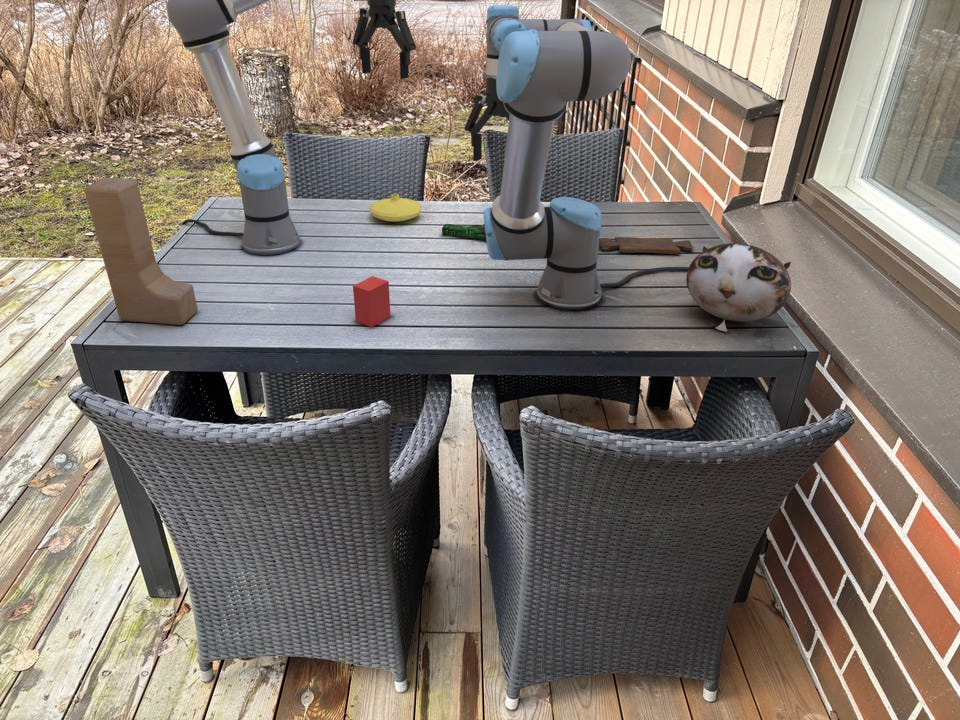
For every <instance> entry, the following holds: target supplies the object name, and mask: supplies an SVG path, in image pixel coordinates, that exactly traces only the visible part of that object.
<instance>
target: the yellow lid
mask: <svg viewBox="0 0 960 720" xmlns="http://www.w3.org/2000/svg"><path fill="white" fill-rule="evenodd" d="M399 196H400V195H399V194H398V193H392V194H391V195H390V197H389V198H383V199H379V200H376V201H374V202H373V203H372V204H371V205H370V206H369V212H370V214H371V216H373V217H374V218H375V219H376V218H377V219H379V220H381V221H384V222H392V223H394V222H395V223H396V222H397V223H399V222H405V221H409V220H411V219H413V218H416V217H417V216H419V215H420V214H421V212H422V205H421V204H420V203H419V202H418V201H416V200H414V199H411V198H405V197H399Z"/></svg>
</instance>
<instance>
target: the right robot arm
mask: <svg viewBox="0 0 960 720" xmlns="http://www.w3.org/2000/svg"><path fill="white" fill-rule="evenodd" d="M485 23H486V53H485V54H486V55H485V75H486V78H485V93H486V95H485V94H484V93H480V94H479V93H478V94H476V95H475V97H474V104H473V107H472V109H471V111H470V114H469V116H468V118H467V121H466V123H465V124H464V125H465V126H464V131H465V132H469V134H470V145H471V147H472V148H473V149H472V150H473V151H472V154H473V155H472V160H473V162H478V161H481V160H482V157H483V155H482V154H483V153H482V152H483V133H481V130H482V129H483V128H484V127H485V126H486V124H487V123H488V121H489V120H490V119H491V118H492V117H499V118H505V119H506V120H507V121H508V127H507V134H506V144H505V152H504V161H503V169H502V178H501V186H500V193H499V195H497V196H496V197H495V198H494V200H493V202H492V205H491V206H490V207H487V208H484V210H483V222H484V223H483V225H484V224H485V233H486V241H485V242H486V247H487V248H486V249H487V253H488V256H489V258H490V259H492V260H495V261H520V260H521V261H522V260H544V259H546V266H545V268H544V270H543V273H542V275H541V276H540V277H541V278H540V280H539V282H538V285H537V290H536V297H537V299H538V300H539V301H540V302H541V303H542V304H543V305H545V306H548V307H550V308H553V309H558V310H562V311H583V310H588V309H591V308H595V307H596V306H597V305H599V304H600V302H601V301H602V300H601V299H602V289H603V288H616V287H620V286H622V285H624V284H625V283H627V282H628V281H629V280H630V279H632V278H635V277H636V276H641V275H645V274H649V273H657V272H666V271H667V272H669V271H670V272H671V271H683V272H685V271H688V268H689V266H661V267H653V268H646V269H641V270H638V271H635V272H632V273H630V274H628V275H627V276H625V277H624V278H623V279H622V280H620V281H617V282H611V283H609V282H606V283H600V279H599V274H598V270H597V267H598V266H597V264H598V254H599V248H600V244H599V239H601V238H600V236H601V231H602V212H601V210H600V208H599V207H597V206H596V205H595V204H594V203H591V202H589V201H586V200H583V199H580V198H576V197H570V196H569V197H567V196H559V197H555V198H553V199H551V200H550V203H549V206H544V203H543V202H542V200H541V197H542V192H543V186H544V181H545V176H546V170H547V164H548V159H549V153H550V147H551V141H552V136H553V130H554V125H555V121H556V120H558V119H559V118H560V117H562V116H563V115H564V113H565V110H566V106H567V102H590V101H596V100H599V99H602V98H604V97H607V96H608V95H611V94H612V93H614V92H615V91H616V90H617V89H618V88H620V86H621V85H622V84H623V83H624V82H625V81H626V79H627V77H628V75H629V72H630V70H631V66H632V65H631V64H632V56H631V51H630V48H629V46H628V44H627V43H626V41H624V39H623V38H622V37H620V36H618V35H617V34H614V33H612V32H609V31H598V30H593V27H592V23H591V21H590V20H588V19H581V18H559V19H558V18H555V19H553V18H551V19H550V18H549V19H546V18H520V9H519V6H516V5H510V4H493V5H490V6H488V8H487V11H486V20H485ZM485 104H486V106H487V107H486V108H485V110H484V111H483V113H482V115H481V112H482V110H483V107H484V105H485ZM480 115H481V116H480Z"/></svg>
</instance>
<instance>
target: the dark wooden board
mask: <svg viewBox="0 0 960 720" xmlns="http://www.w3.org/2000/svg"><path fill="white" fill-rule="evenodd" d="M673 240H674V238H673V237H651V238H650V237H644V238H643V237H632V236H625V237H623V236H615V237H614V239H610V238H608V237H603V238H602V237H601V238H599V248H600V250H601V251H607V252H608V251H612V250H613V251H614V250H617V249H619V253H621V254H635V253H639V254H641V253H643V254H645V253H646V254H669V255H678V254H680V253H681V251H684V252H692V250H693V245H692V242H691V240H689V239H685V240H681V241H680V240H678V241H673Z"/></svg>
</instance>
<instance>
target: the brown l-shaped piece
mask: <svg viewBox="0 0 960 720" xmlns="http://www.w3.org/2000/svg"><path fill="white" fill-rule="evenodd" d="M83 191H84V194H85V199H86V201H87V206H88V209H89V212H90V217H91V220H92V224H93V227H94V231H95V234H96V238H97V242H98V245H99V249H100V253H101V256H102V260H103V263H104V267H105V270H106V275H107V278H108V283H109V286H110V289H111V292H112V293H111V294H112V297H113V300H114V304H115V308H116V311H117V315H118V318H119V320H120V321H124V322H137V323H150V324H160V325H161V324H162V325H173V326H174V325H175V326H182V325H185V324H186V323H187V322H188V321H189V320H190V319H192V318H193V316H194V315H195V314H196V313H197V312H198V304H197V299H196V293H195V290H194V285H192V283H187V282H182V281H177V280H174V279H172V278H171V277H170V276H167V275H166V274H164V272H163V270H162V269H161V267H160V265H159V264H158V262H157V260H156V257H155V252H154V248H153V245H152V239H151V235H150V231H149V227H148V223H147V218H146V214H145V209H144V206H143V201H142V196H141V192H140V189H139V184H138V181H137V179H133V178H116V177H115V178H114V177H104V178H101V179H99V180H97V181H96V182H93V183H92V184H90V185H87V186H85V187H84V190H83Z"/></svg>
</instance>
